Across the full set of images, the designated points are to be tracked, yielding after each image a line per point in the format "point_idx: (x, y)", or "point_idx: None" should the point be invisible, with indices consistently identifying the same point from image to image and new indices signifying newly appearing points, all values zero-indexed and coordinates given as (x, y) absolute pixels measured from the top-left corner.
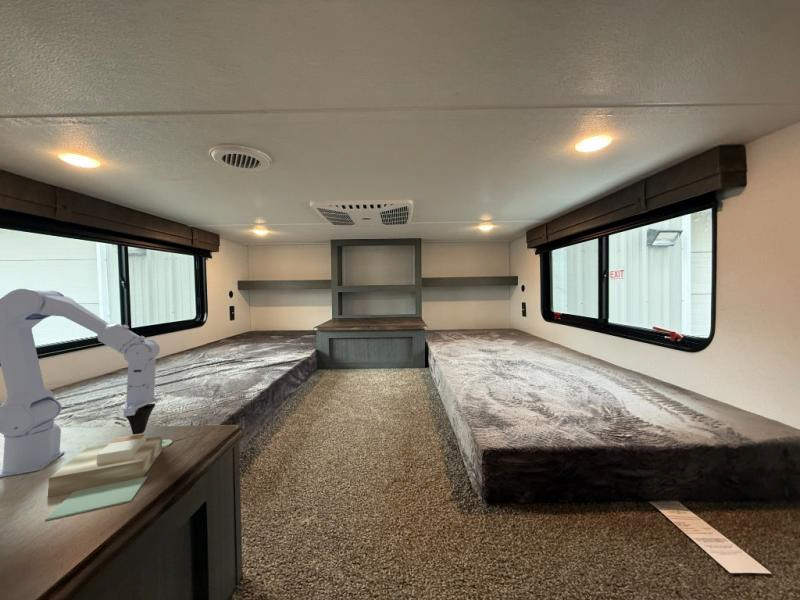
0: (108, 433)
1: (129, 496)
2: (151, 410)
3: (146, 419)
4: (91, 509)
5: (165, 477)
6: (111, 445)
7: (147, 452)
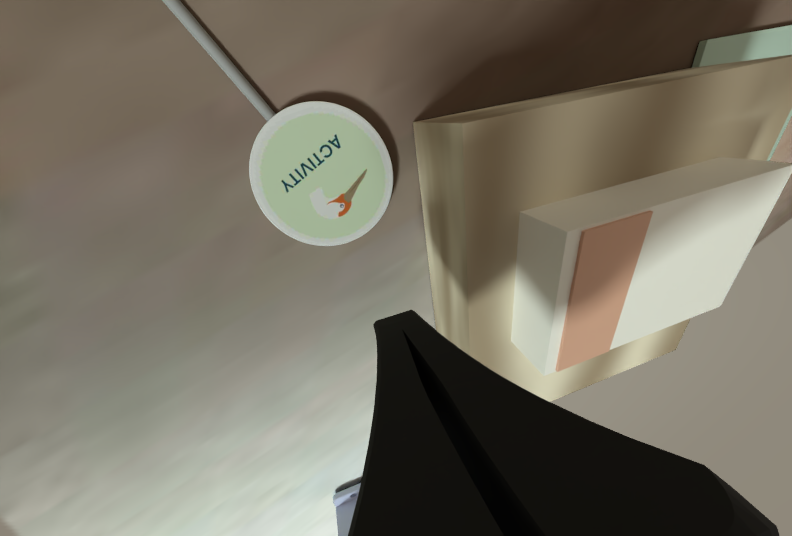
0: (130, 530)
1: None
2: (438, 527)
3: (472, 388)
4: (777, 140)
5: None
6: (645, 322)
7: (721, 85)
